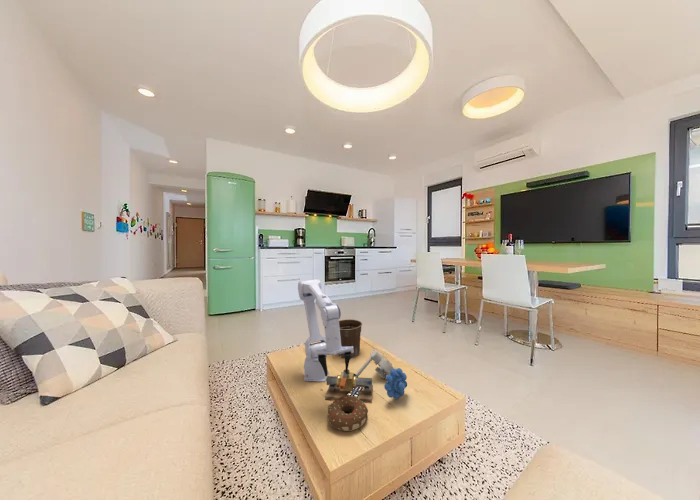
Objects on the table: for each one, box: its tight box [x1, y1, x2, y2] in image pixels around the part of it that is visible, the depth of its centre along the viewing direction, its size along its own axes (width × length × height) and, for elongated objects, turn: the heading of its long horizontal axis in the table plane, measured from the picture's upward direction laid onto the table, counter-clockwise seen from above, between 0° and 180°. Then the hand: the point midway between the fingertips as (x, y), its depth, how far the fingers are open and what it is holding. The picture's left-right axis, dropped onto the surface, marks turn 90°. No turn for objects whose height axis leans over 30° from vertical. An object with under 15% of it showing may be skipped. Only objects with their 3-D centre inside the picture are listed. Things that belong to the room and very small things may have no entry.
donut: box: [326, 396, 369, 432], centre depth 86 cm, size 14×14×5 cm
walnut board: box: [324, 384, 374, 403], centre depth 100 cm, size 18×9×1 cm, turn 82°
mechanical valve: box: [354, 349, 397, 380], centre depth 110 cm, size 10×18×15 cm
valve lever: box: [339, 368, 350, 389], centre depth 96 cm, size 11×2×2 cm, turn 172°
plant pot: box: [337, 319, 363, 359], centre depth 136 cm, size 16×16×16 cm
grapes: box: [383, 368, 408, 400], centre depth 95 cm, size 12×7×12 cm, turn 126°
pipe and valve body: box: [325, 371, 373, 394], centre depth 100 cm, size 18×5×6 cm, turn 82°
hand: (336, 374), depth 94 cm, fingers open, 7 cm apart
